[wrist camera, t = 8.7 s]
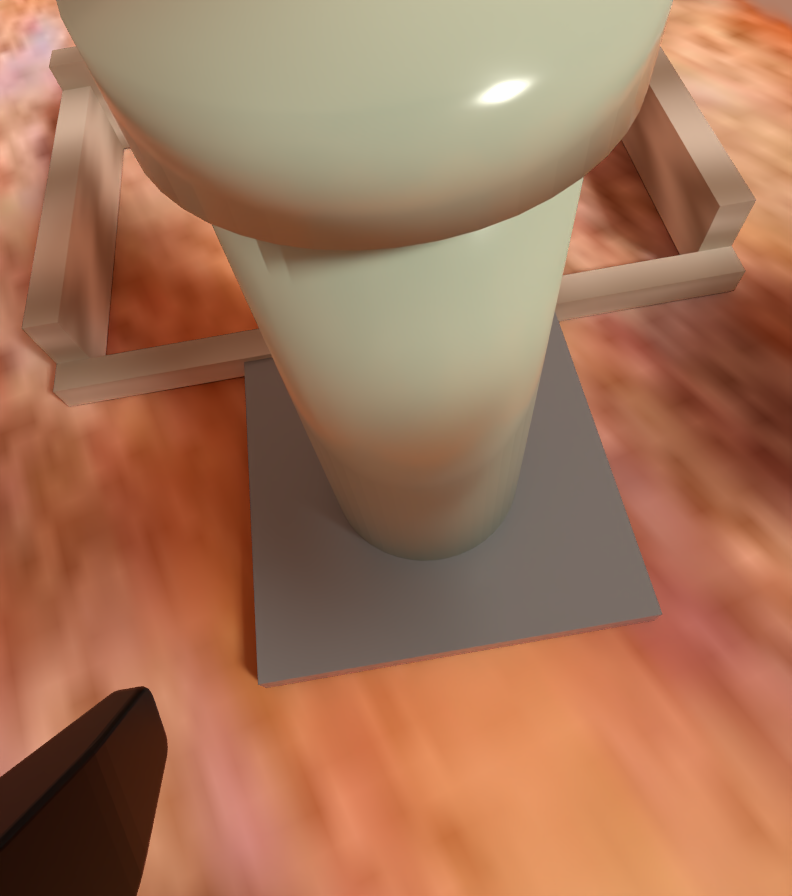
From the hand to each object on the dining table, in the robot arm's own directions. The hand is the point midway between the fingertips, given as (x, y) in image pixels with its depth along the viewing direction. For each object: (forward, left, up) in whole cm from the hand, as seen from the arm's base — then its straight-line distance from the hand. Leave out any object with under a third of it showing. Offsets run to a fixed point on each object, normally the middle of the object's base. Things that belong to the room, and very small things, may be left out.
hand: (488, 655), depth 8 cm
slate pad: (+6, +4, -9) cm, 12 cm away
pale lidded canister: (+6, +4, -9) cm, 11 cm away
